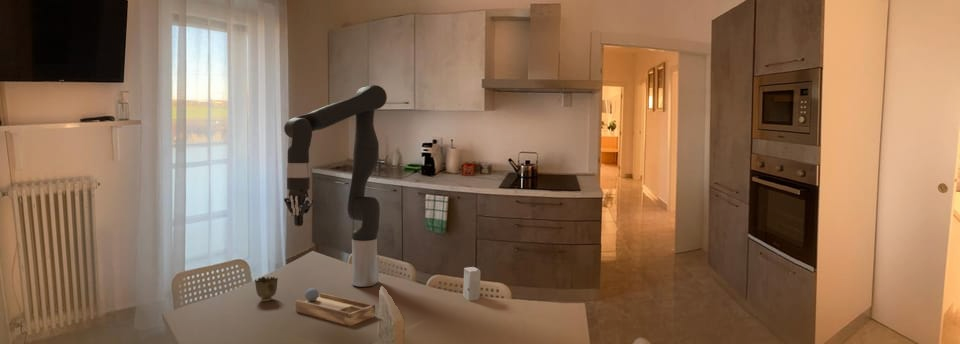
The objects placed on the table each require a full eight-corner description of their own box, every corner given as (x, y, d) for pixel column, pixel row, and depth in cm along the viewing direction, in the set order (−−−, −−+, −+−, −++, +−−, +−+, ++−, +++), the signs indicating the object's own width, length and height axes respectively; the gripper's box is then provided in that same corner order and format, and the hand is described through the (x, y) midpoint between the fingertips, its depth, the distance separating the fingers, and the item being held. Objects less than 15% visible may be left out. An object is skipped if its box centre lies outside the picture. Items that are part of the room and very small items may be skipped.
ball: (307, 301, 185) (302, 300, 180) (309, 288, 186) (303, 287, 182) (319, 302, 184) (314, 300, 180) (321, 288, 186) (316, 287, 181)
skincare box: (462, 300, 194) (462, 267, 194) (473, 299, 196) (474, 266, 195) (468, 305, 189) (469, 271, 188) (480, 304, 190) (480, 270, 190)
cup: (269, 305, 186) (269, 282, 186) (250, 303, 187) (250, 280, 187) (282, 299, 193) (281, 277, 193) (263, 297, 195) (263, 275, 194)
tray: (321, 303, 189) (321, 292, 189) (375, 316, 176) (375, 305, 176) (295, 311, 180) (295, 300, 180) (350, 326, 167) (350, 314, 166)
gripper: (320, 176, 187) (320, 226, 188) (294, 174, 194) (294, 222, 195) (302, 177, 181) (302, 229, 182) (276, 175, 188) (277, 225, 189)
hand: (298, 225), depth 189 cm, fingers closed
